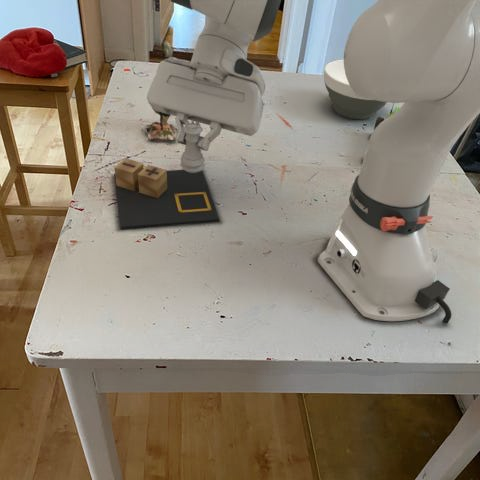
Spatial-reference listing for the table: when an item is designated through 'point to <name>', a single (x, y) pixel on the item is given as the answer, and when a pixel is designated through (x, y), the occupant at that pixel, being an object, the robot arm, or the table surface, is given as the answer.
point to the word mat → (168, 203)
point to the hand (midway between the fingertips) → (191, 146)
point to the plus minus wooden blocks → (141, 177)
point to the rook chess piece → (192, 149)
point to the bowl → (347, 94)
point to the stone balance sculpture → (163, 127)
